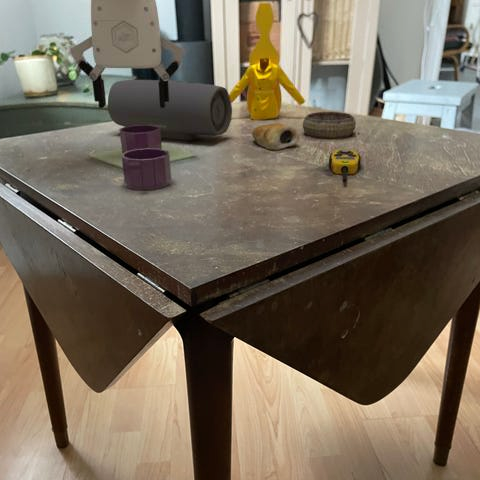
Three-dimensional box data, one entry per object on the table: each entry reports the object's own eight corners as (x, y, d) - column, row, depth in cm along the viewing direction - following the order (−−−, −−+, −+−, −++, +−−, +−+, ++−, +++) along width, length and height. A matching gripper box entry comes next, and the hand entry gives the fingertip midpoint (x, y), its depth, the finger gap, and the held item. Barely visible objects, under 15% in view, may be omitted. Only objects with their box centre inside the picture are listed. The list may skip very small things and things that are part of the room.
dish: (136, 161, 87) (133, 135, 85) (115, 154, 92) (111, 129, 89) (169, 154, 91) (167, 128, 89) (147, 148, 95) (145, 123, 93)
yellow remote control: (360, 147, 87) (363, 173, 74) (359, 159, 88) (361, 187, 75) (330, 147, 87) (327, 172, 75) (329, 159, 88) (326, 186, 76)
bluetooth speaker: (234, 137, 103) (233, 80, 98) (209, 147, 96) (207, 86, 91) (138, 127, 113) (132, 75, 107) (109, 136, 105) (102, 80, 100)
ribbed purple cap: (141, 193, 74) (138, 162, 72) (116, 183, 78) (112, 153, 76) (180, 183, 78) (178, 153, 76) (154, 174, 82) (151, 146, 80)
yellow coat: (223, 121, 117) (219, 3, 105) (225, 114, 123) (221, 3, 112) (305, 120, 116) (310, 1, 105) (302, 113, 123) (307, 1, 112)
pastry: (242, 141, 100) (242, 119, 98) (272, 137, 103) (272, 116, 101) (272, 151, 93) (273, 128, 91) (303, 146, 96) (304, 124, 94)
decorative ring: (335, 141, 98) (365, 132, 105) (336, 123, 97) (366, 115, 103) (291, 134, 105) (322, 126, 111) (292, 116, 103) (323, 109, 109)
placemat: (130, 171, 84) (129, 169, 83) (89, 156, 92) (88, 154, 92) (196, 156, 91) (196, 154, 91) (152, 143, 99) (152, 142, 99)
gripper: (56, -21, 75) (73, 110, 83) (181, -18, 76) (186, 110, 85) (67, -19, 81) (82, 103, 90) (182, -17, 82) (186, 103, 91)
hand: (132, 106), depth 87 cm, fingers open, 9 cm apart
